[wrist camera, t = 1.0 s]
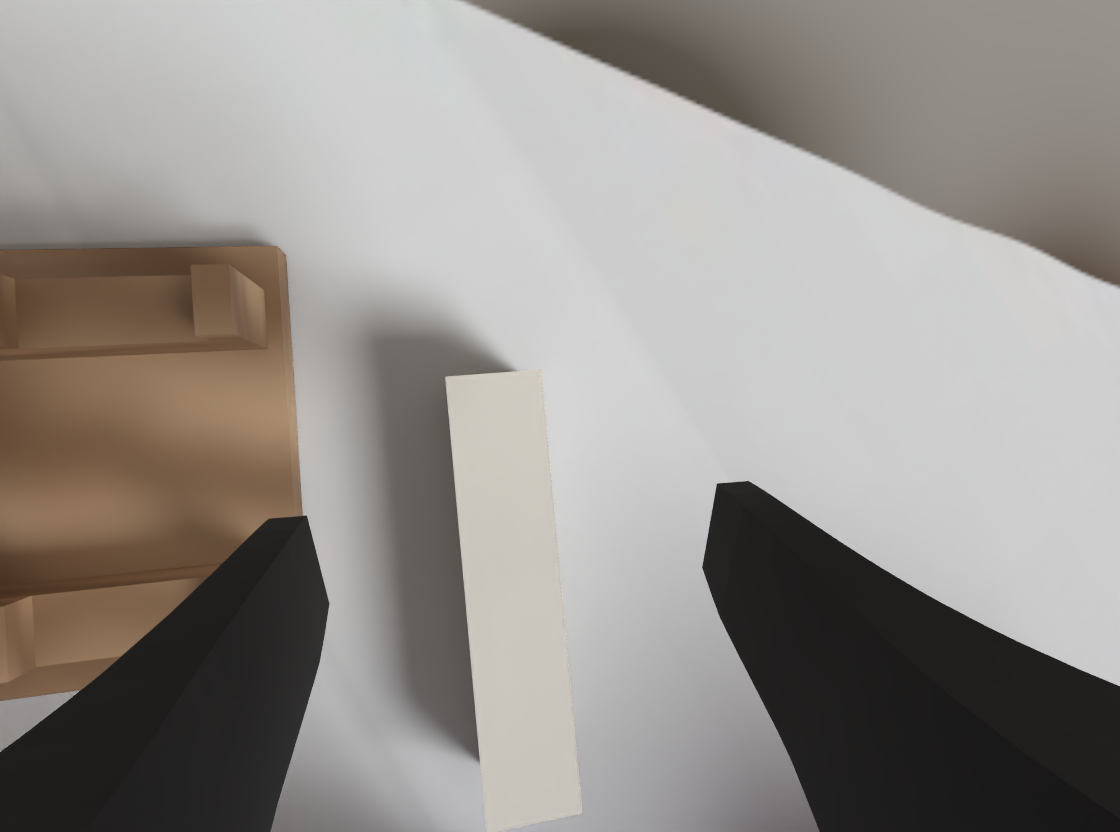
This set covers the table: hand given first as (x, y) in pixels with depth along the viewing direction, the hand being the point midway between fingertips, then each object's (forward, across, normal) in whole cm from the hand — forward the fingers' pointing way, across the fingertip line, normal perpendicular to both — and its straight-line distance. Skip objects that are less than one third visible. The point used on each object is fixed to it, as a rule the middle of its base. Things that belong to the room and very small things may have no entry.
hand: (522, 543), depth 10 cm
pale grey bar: (+8, 0, +9) cm, 12 cm away
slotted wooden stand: (+10, +14, +4) cm, 18 cm away
